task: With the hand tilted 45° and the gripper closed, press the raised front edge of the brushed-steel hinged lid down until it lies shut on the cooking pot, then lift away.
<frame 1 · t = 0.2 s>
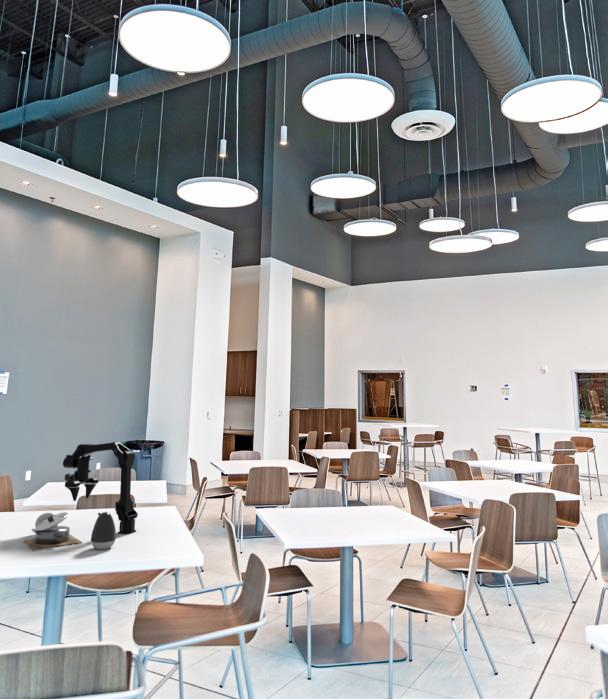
hand: (81, 499, 259), 14 cm above the table, tool pointing down, fingers open, 9 cm apart
donut: (45, 534, 245), on the table
walnut trivet: (52, 542, 229), on the table
cooker lid: (49, 520, 229), point 10 cm above the table, hinge at 25.0°
cooking pot: (52, 535, 229), on the walnut trivet, point 3 cm above the table
dark grey egg shape: (102, 548, 220), on the table
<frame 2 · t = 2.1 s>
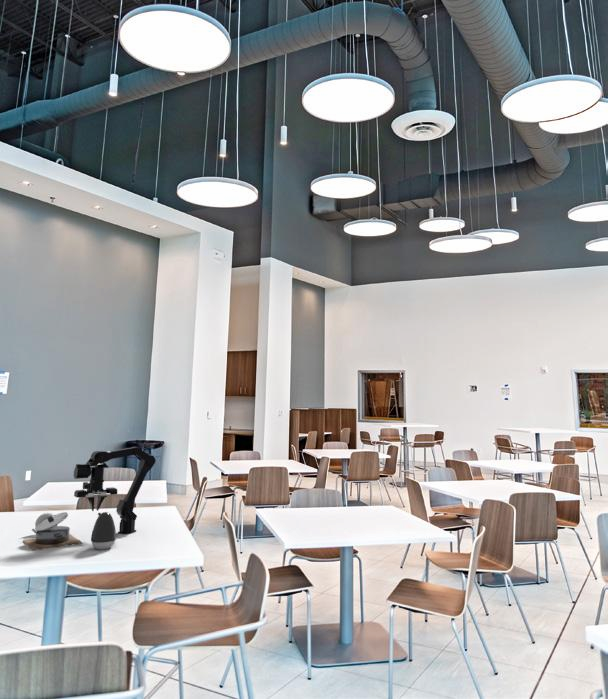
hand: (95, 510, 242), 12 cm above the table, tool pointing down, fingers closed
nothing on the table moved.
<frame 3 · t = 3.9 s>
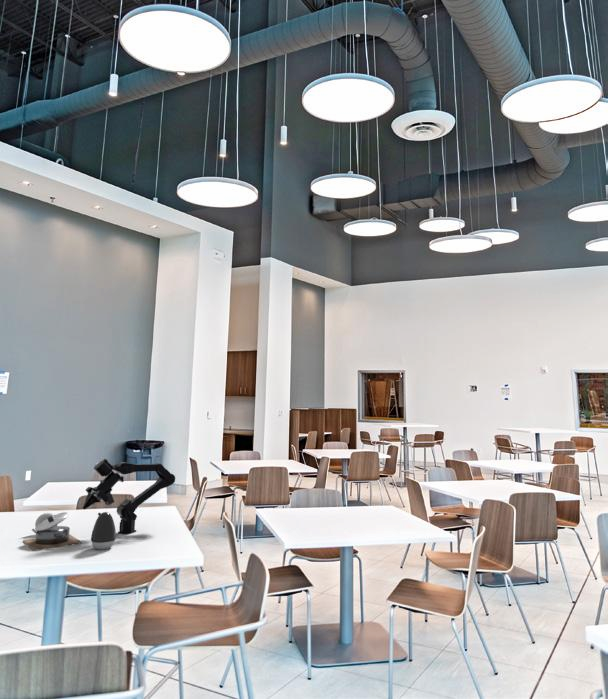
hand: (83, 508, 239), 14 cm above the table, tool tilted 45°, fingers closed
nothing on the table moved.
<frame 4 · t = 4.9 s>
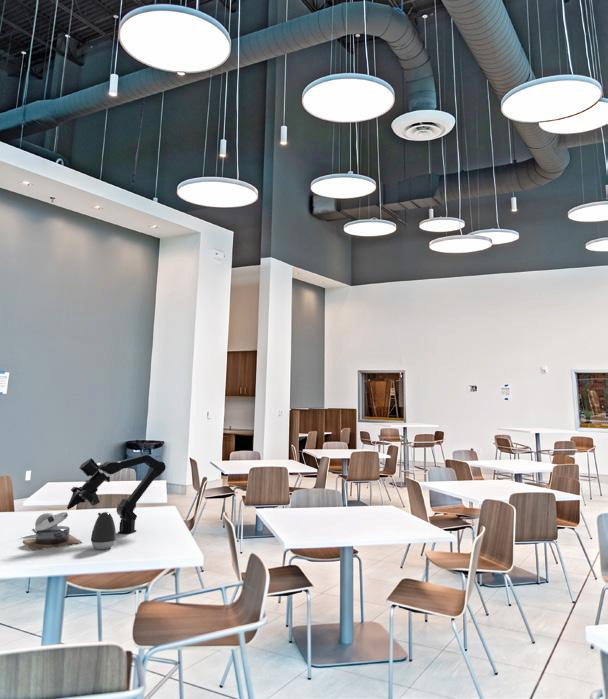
hand: (67, 508, 234), 14 cm above the table, tool tilted 45°, fingers closed
nothing on the table moved.
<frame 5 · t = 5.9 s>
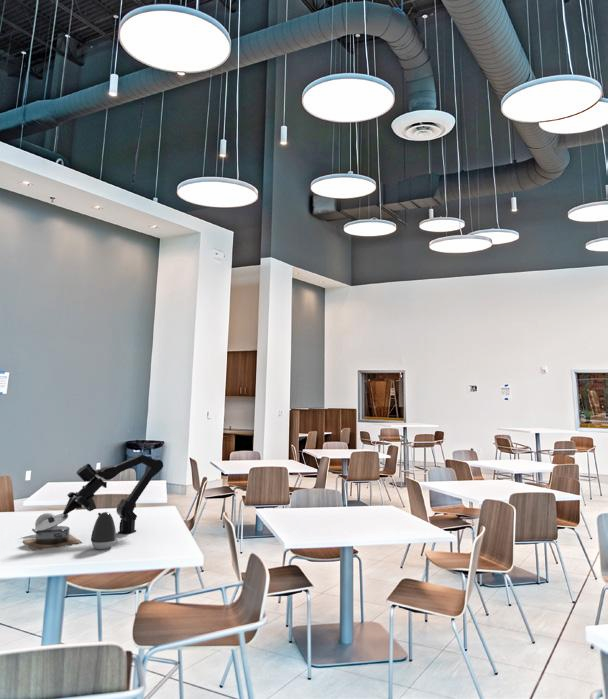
hand: (63, 514, 233), 12 cm above the table, tool tilted 45°, fingers closed, pressing on cooker lid
cooker lid: (50, 520, 229), point 10 cm above the table, hinge at 23.0°, touching gripper
everything else where it was.
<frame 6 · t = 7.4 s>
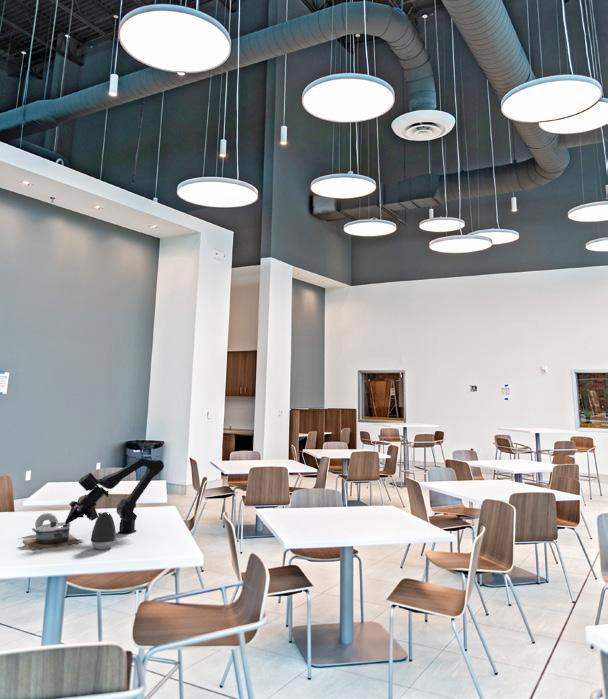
hand: (65, 523, 233), 8 cm above the table, tool tilted 45°, fingers closed, pressing on cooker lid
cooker lid: (52, 525, 229), point 8 cm above the table, hinge at 3.2°, touching gripper
everything else where it was.
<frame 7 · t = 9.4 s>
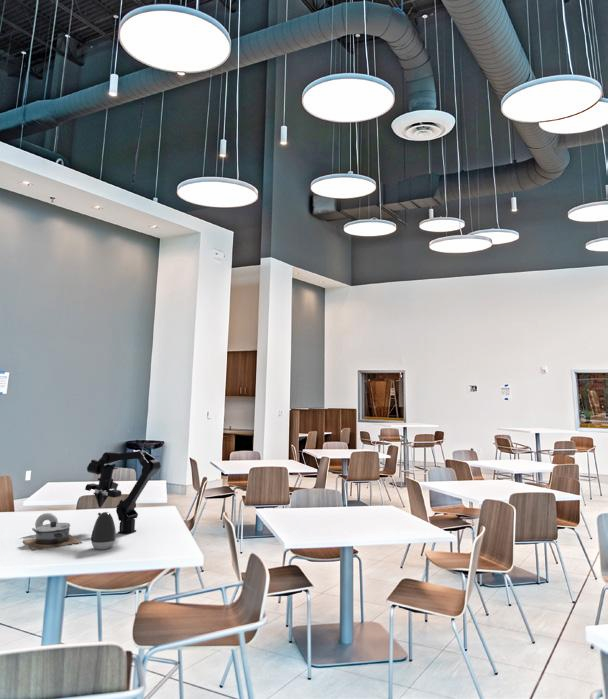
hand: (100, 507, 257), 11 cm above the table, tool pointing down, fingers closed
cooker lid: (52, 525, 229), point 8 cm above the table, hinge at 2.9°
everything else where it was.
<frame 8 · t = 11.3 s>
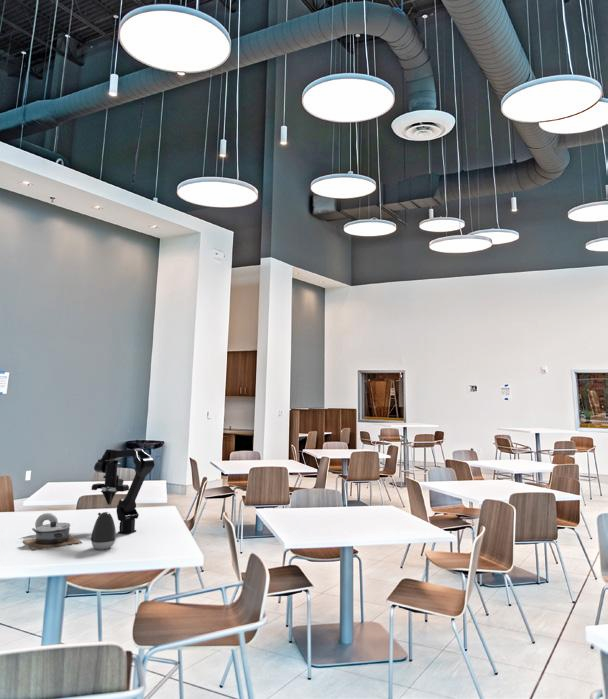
hand: (109, 504, 260), 12 cm above the table, tool pointing down, fingers closed
nothing on the table moved.
at the end: cooker lid at +3° (first picture: +25°) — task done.
